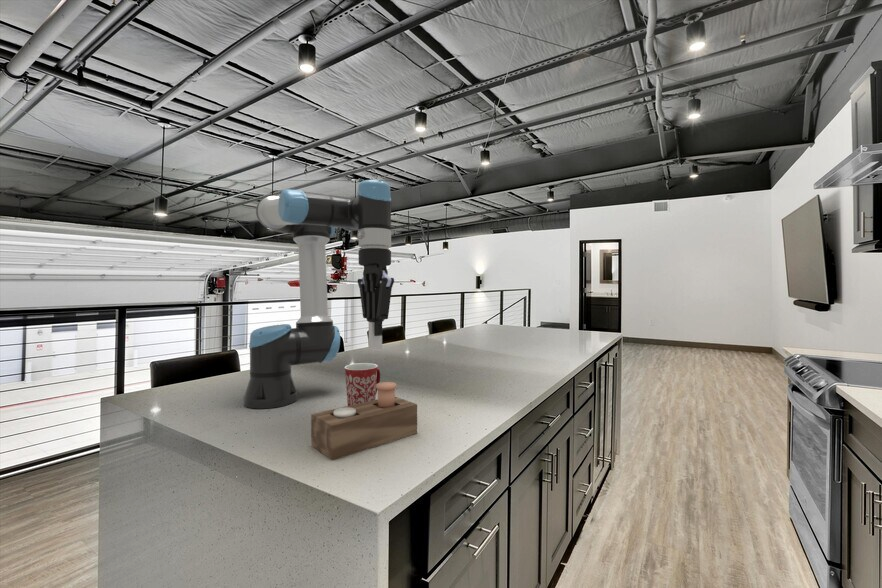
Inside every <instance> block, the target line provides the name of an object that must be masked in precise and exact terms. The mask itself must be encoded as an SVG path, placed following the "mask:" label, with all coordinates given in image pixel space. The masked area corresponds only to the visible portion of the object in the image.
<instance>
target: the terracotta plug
mask: <svg viewBox="0 0 882 588" xmlns="http://www.w3.org/2000/svg"><path fill="white" fill-rule="evenodd" d="M376 389H378V390H377V399H378V407H380V408H383V409H385V408H389V407H393V406H395V397H396V393H395V392H396V391H395V390H396V389H397V383H396V382H392V381H385V382H384V381H383V382H380V383H378V384H376Z"/></svg>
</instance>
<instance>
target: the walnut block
mask: <svg viewBox="0 0 882 588" xmlns="http://www.w3.org/2000/svg"><path fill="white" fill-rule="evenodd" d="M345 407H349V408H354V409H356V414H355V415H354V416H352V417H348V418H344V419H338V418H336V417H334V410H336V409H339V408H345ZM310 416H311V417H310V419H311V421H310V422H311V423H310V424H311V427H310V429H311V432H310V433H311V435H310V437H311V438H310V439H311V441H310V442H311V447H312V448H314V449H316V450H317V451H318V452H320V453H322V454H323V455H324V456H325V457H326V458H328V459H330V460H331V461H333V460H338V459H340V458H343V457H346V456H350V455H353V454H356V453H359V452H363V451H366V450H369V449H372V448H376V447H378V446H380V445H385V444H389V443H391V442H394V441H398V440H401V439H403V438H406V437H410V436H413V435H416V434H418V404H417V403H415V402H411V401H409V400H406V399H403V398H401V397H398V396H395V406H393V407H389V408H385V409H383V408H380V407H378V398H376V399H375V400H373V401H368V402H364V403H359V404H355V405H350V406H348V405H347V406H346V405H345V406H343V407H341V406H340V407H337V408H333V409H329V410H324V411H319V412H314V413H312V414H310Z"/></svg>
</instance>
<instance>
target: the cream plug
mask: <svg viewBox="0 0 882 588" xmlns="http://www.w3.org/2000/svg"><path fill="white" fill-rule="evenodd" d="M344 407H345V408H341V407H338V408H339V409H337V408H335V409H336V410H334V417H336V418H338V419H344V418H348V417H352V416H354V415H355V414H356V409H354V408H349V407H346V406H344Z"/></svg>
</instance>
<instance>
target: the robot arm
mask: <svg viewBox="0 0 882 588" xmlns="http://www.w3.org/2000/svg"><path fill="white" fill-rule="evenodd" d="M357 186H358V187H357V196H356V197H348V196H347V197H346V196H339V195H333V194H323V193H318V192H317V193H316V192H312V191H303V190H300V189H289V188H287V189H283V190H281V192H280V195H277V196H276V195H270V196H267V197H263V198H262V199H261V200H259V202H258V203H257V204H256V208H255V214H256V218H257V220H258V221H259V223H260V224H261V225H262V226H264V228H267V229H268V230H269V229H270V230H271V231H274V232H276V233H277V232H278V233H283V234H292V240H293V241H294V242H295V244H297V246H298V247H297V248H298V271H299V273H298V274H299V298H300V299H299V301H300V302H299V303H300V305H299V306H300V309H299V310H300V318H299V319H298V320H297V321H296V322H295V326H296V327H295V328H292V325H290V324H289V323H288V324H287V323H286V324H285V323H283V324H282V323H281V324H274V325H268V326H263V327H259V328H257V329H256V328H255V329H254V330H253V331H251V333H250V335H249V345H248V347H249V381H248V384H247V387H246V390H245V392H244V395H243V407H246V408H249V409H256V410H257V409H272V408H273V409H274V408H278V407H284V406H287V405H291V404H293V403H295V402H296V401H298V390H297V388H296V385H295V382H294V380H293V377H292V366H297V365H306V364H317V363H320V364H321V363H324V362H331V361H333V360H334V359H335V358H336V357H337V354H338V353H339V350H340V346H341V333H340V329H339V327H338V326H337V325H334V321H333V319H332V318H331V317H330V316H329V311H328V310H329V307H328V280H327V277H328V276H327V258H326V255H327V254H326V253H327V252H326V245H327V244H328V243H329V242H330V240H331V239H330V237H333V236H334V235H335V233H336V228H341V229H343V230H345V231H350V232H352V231H354V232H356V231H358V233H357V237H358V247H359V248H360V249H359V250H358V265H359V266H361V267H363V272H362V277H361V278H358V279H357V284H358V288H359V294H360V303H361V311H362V312H361V313H362V317H363V318H362V319H366V321H367V322H368V350H369V351H377V350H378V351H379V350H383V322H384V321H385V320H388V319H389V315H390V313H389V312H390V305H391V297H392V289H393V286H394V283H395V278H394V277H390V276H389V275H388V274H389V272H388V269H387V267H388V266H391V265H392V251H391V249H390V248H391V247H392V230H391V229H392V197H391V187H390V184H389V183H387V182H386V181H384V180H383V181H382V180H380V179H379V180H378V179H365V180H362V181H360V182H359V183H358V185H357Z"/></svg>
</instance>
